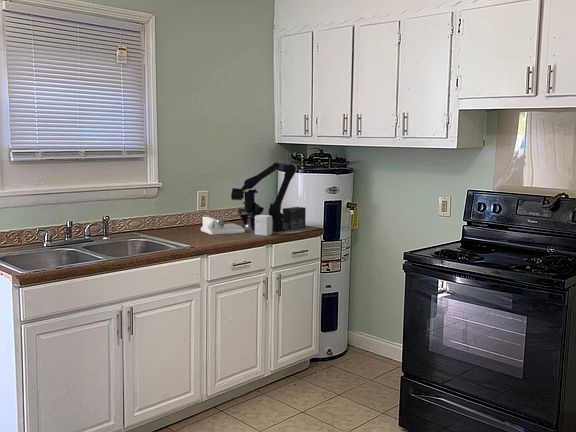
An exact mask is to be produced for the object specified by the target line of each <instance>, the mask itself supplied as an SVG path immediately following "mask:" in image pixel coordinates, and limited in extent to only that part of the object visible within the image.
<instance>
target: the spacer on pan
mask: <svg viewBox="0 0 576 432" xmlns="http://www.w3.org/2000/svg"><path fill="white" fill-rule="evenodd" d="M214 219H215V220H216V221H217V222H218V226H222V225H224V224H225V220H224V219H223V218H214Z"/></svg>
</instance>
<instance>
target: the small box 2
mask: <svg viewBox="0 0 576 432" xmlns="http://www.w3.org/2000/svg"><path fill="white" fill-rule="evenodd" d="M306 209H307V208H306V207H303V206H293V207H284V208H282V214H283V215H284V217H283V219H282V220H283V229H284V228H285V229H284V230H290V229H292V230H296V229H297V228H298V229H302V228H306Z"/></svg>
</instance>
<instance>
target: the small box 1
mask: <svg viewBox="0 0 576 432" xmlns="http://www.w3.org/2000/svg"><path fill="white" fill-rule="evenodd" d="M272 222H273V220H272V216H270V215H269V214H268V215H267V214H261V215H256V216H255V227H254V235H256V236H265V237H268V236H271V235H273V231H272Z"/></svg>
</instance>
